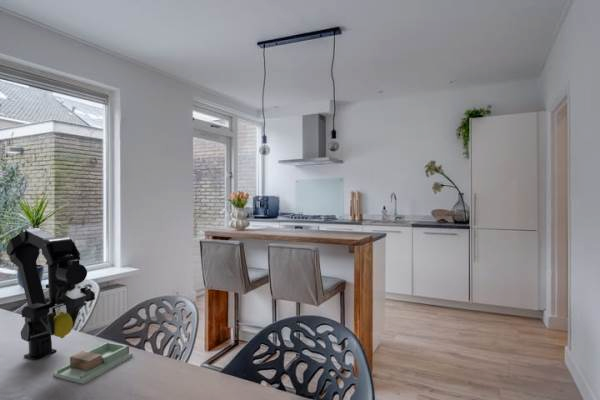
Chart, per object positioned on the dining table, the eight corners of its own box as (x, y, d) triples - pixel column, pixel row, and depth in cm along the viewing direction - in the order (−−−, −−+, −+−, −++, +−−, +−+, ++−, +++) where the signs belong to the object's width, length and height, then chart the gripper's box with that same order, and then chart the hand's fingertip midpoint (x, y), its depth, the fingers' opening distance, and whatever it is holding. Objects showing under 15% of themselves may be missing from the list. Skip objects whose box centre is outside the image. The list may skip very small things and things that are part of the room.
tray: (53, 376, 101) (52, 365, 101) (105, 350, 117) (104, 341, 117) (83, 383, 97) (82, 372, 97) (132, 356, 113) (132, 346, 113)
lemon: (62, 342, 104) (61, 315, 103) (46, 341, 105) (45, 314, 104) (77, 335, 109) (76, 309, 109) (62, 333, 110) (61, 308, 110)
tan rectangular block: (70, 366, 104) (69, 356, 104) (82, 360, 108) (82, 350, 108) (89, 371, 101) (89, 361, 101) (102, 364, 105) (101, 354, 105)
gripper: (46, 290, 95) (48, 348, 95) (106, 274, 112) (108, 323, 113) (19, 287, 99) (21, 342, 99) (81, 272, 116) (83, 319, 117)
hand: (62, 331), depth 107 cm, fingers closed on lemon, 5 cm apart
